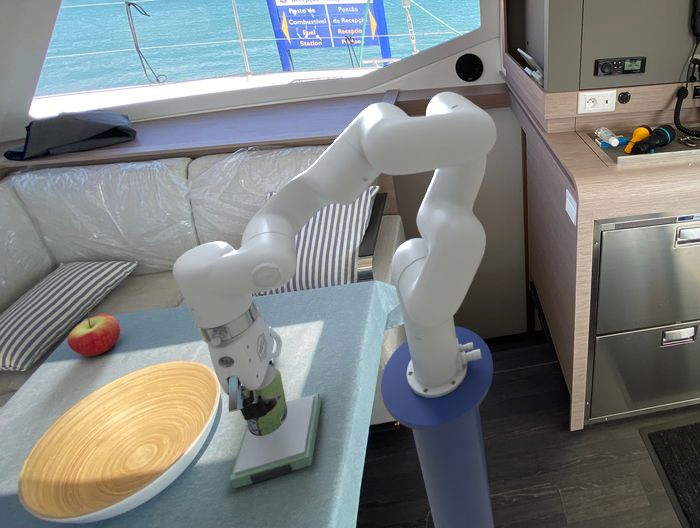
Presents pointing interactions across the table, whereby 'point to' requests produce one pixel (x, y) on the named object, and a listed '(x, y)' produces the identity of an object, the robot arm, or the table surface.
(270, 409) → the beverage can
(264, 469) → the scale
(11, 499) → the table surface
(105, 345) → the apple
